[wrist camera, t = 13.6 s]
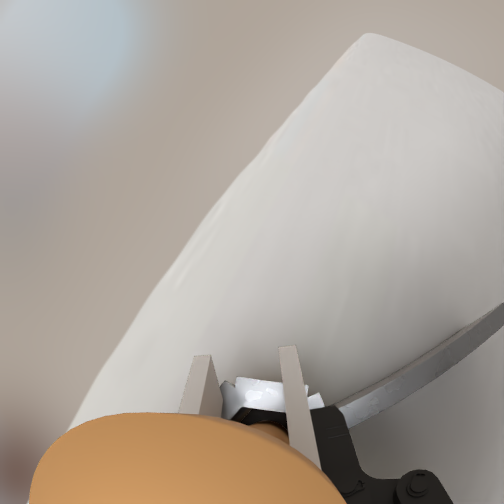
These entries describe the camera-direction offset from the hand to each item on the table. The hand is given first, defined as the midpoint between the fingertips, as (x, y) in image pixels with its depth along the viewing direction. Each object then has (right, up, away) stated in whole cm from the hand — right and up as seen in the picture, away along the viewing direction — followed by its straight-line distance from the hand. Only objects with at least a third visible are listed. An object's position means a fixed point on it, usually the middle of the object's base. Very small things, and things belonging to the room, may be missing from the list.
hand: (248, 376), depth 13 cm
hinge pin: (+1, -6, +4) cm, 7 cm away
